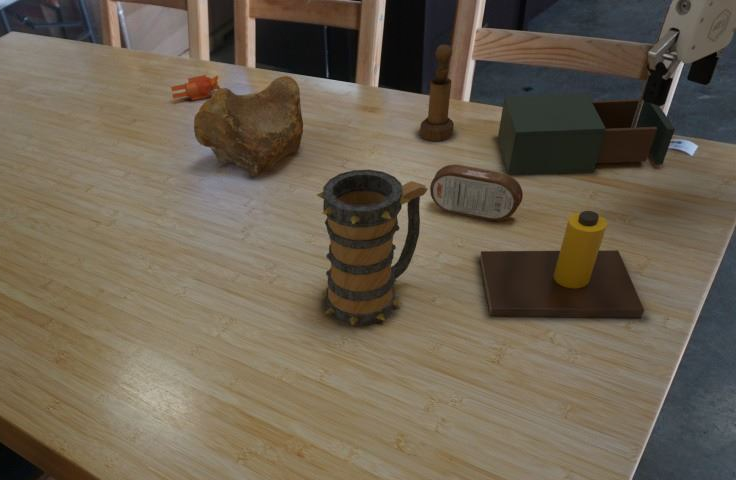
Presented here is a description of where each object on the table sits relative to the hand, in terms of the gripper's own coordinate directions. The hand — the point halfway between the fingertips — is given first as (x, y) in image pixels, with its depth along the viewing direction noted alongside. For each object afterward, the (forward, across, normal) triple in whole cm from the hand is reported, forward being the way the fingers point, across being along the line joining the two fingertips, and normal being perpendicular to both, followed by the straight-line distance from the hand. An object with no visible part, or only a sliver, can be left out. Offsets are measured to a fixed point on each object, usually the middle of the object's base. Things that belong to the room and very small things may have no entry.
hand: (675, 92), depth 99 cm
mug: (+20, -49, +8) cm, 53 cm away
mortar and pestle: (+20, -6, +42) cm, 47 cm away
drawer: (+19, +12, +14) cm, 27 cm away
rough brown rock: (+19, -40, +57) cm, 72 cm away
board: (+20, -26, -6) cm, 33 cm away
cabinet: (+20, +3, +22) cm, 30 cm away
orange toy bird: (+19, -34, +96) cm, 104 cm away
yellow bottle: (+18, -25, -7) cm, 31 cm away
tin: (+20, -22, +16) cm, 33 cm away
